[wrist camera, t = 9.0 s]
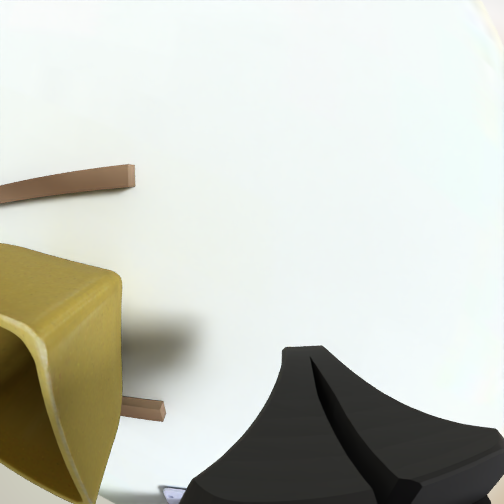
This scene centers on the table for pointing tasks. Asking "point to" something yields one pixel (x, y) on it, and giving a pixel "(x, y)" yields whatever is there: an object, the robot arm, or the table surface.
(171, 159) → the table surface
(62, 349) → the flower pot
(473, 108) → the table surface
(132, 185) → the brown wooden open-sided frame
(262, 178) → the table surface
